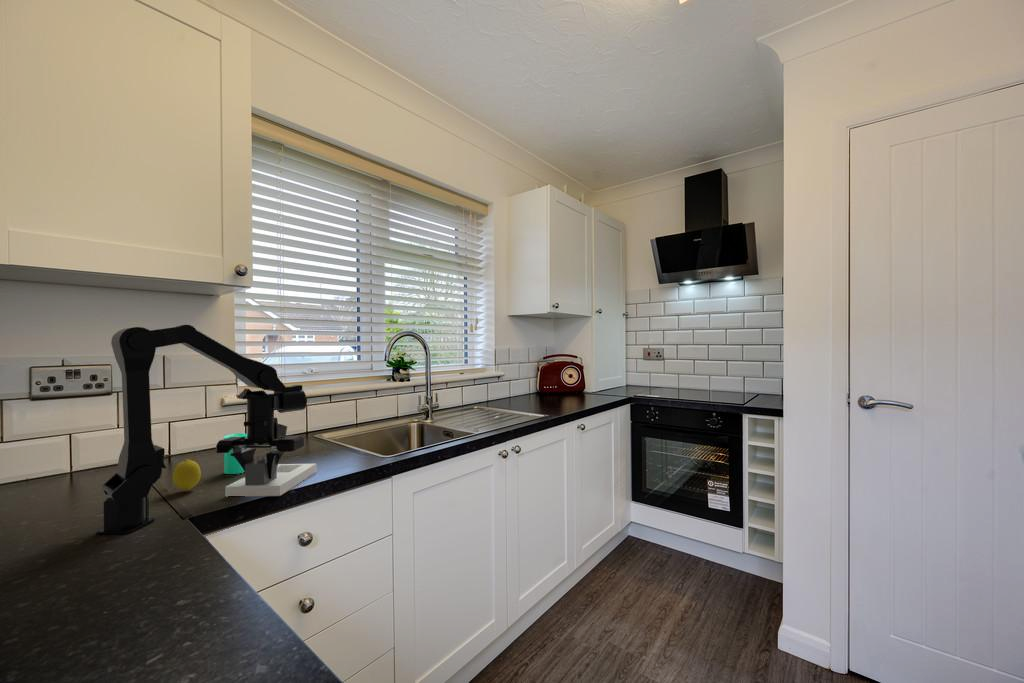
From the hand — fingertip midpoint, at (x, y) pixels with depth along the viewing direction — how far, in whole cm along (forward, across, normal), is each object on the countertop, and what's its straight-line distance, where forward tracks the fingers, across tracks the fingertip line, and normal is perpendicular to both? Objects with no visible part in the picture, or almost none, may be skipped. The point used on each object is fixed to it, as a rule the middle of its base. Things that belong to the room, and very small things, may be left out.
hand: (261, 479), depth 104 cm
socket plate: (+3, 0, -6) cm, 7 cm away
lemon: (+3, +19, -1) cm, 19 cm away
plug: (+1, 0, 0) cm, 1 cm away
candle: (+3, +17, -17) cm, 24 cm away
